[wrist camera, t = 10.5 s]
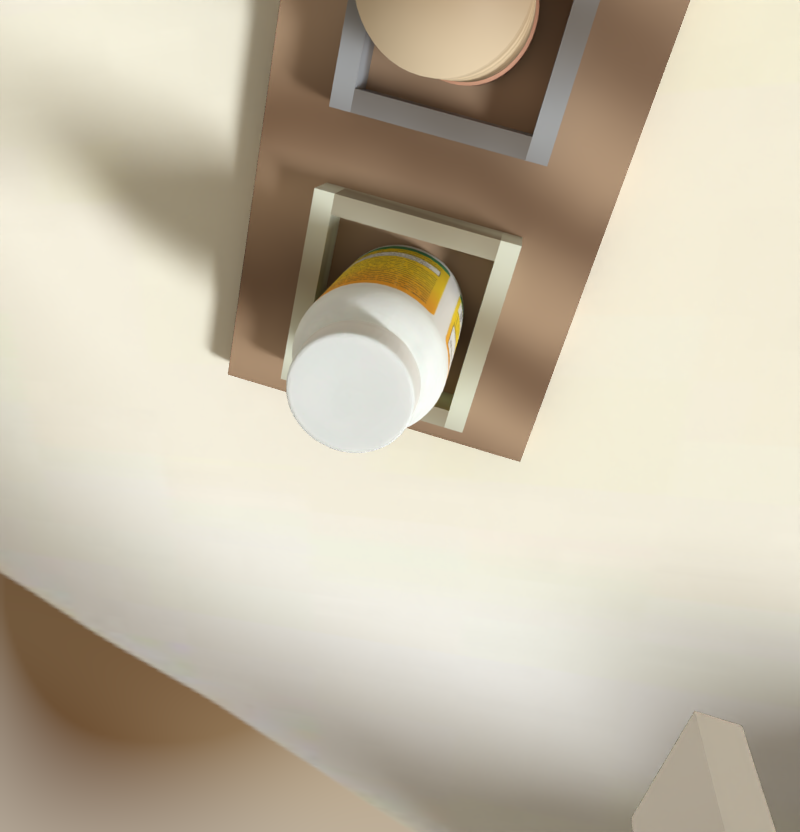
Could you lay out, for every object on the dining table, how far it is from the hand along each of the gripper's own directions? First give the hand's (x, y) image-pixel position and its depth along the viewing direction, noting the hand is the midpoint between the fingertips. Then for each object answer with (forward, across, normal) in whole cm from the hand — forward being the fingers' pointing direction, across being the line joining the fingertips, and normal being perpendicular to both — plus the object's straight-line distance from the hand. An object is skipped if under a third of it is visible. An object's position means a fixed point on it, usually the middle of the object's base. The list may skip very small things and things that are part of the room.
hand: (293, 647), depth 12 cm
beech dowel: (+20, +2, -11) cm, 23 cm away
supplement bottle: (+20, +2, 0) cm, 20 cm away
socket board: (+21, +2, -6) cm, 22 cm away
